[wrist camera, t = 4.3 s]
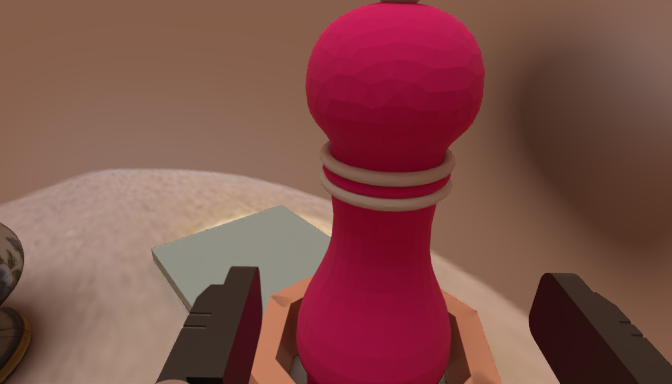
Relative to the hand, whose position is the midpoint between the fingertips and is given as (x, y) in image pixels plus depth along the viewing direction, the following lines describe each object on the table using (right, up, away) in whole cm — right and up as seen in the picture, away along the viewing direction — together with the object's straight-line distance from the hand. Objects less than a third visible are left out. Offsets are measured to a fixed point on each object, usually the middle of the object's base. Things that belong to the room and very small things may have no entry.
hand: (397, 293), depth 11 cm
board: (-8, -3, +19) cm, 20 cm away
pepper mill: (0, -8, +9) cm, 12 cm away
